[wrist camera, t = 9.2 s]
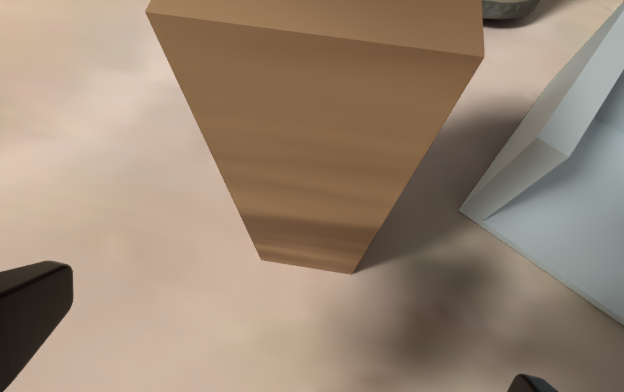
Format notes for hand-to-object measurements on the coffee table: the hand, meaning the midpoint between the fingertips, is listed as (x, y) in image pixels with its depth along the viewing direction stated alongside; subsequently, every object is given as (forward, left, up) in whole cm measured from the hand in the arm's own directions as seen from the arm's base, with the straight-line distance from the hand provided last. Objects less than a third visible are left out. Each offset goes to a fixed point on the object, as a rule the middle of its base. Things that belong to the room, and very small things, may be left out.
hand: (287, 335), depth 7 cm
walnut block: (+6, 0, -10) cm, 11 cm away
